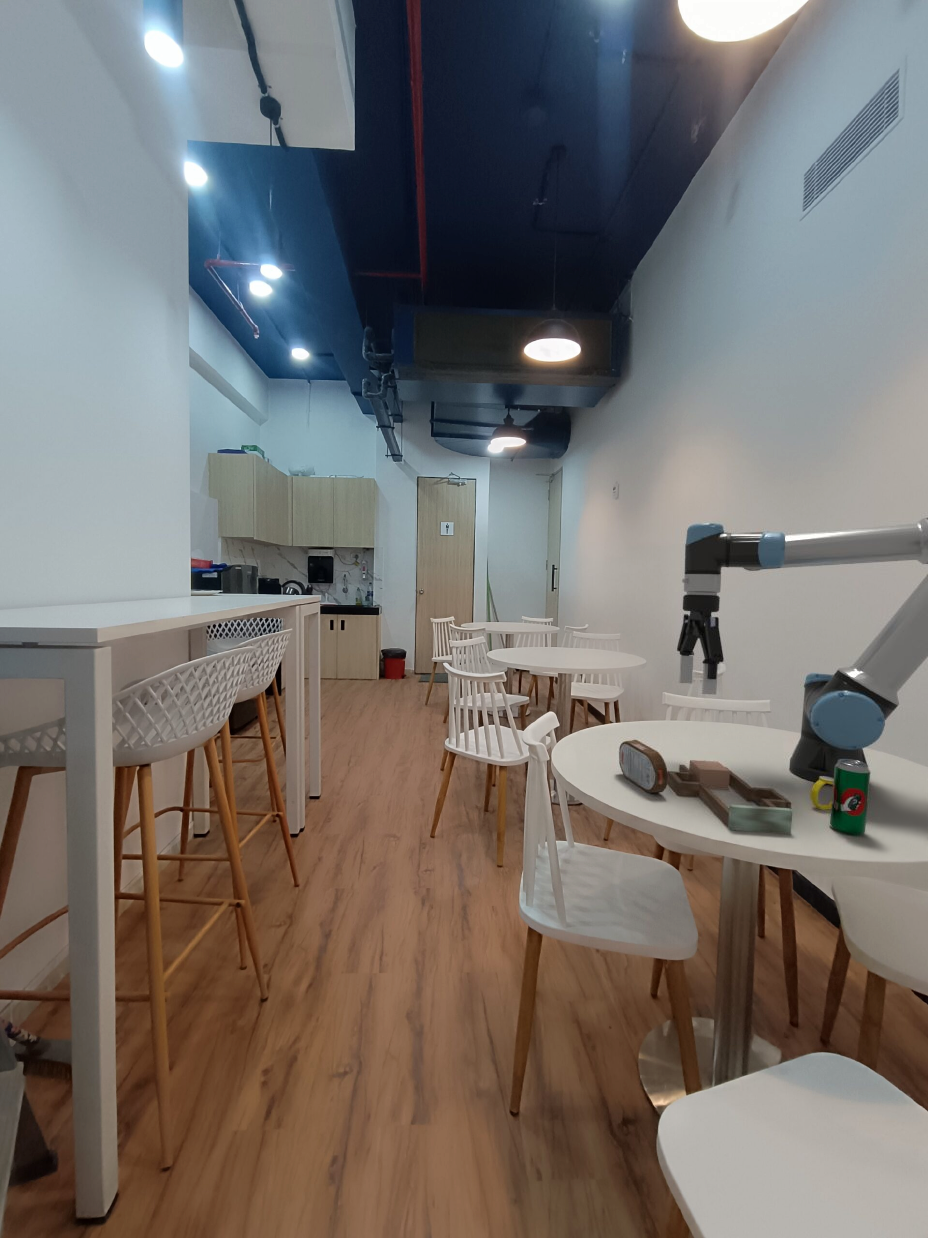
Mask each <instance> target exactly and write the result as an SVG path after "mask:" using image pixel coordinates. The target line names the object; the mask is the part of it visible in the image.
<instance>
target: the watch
mask: <svg viewBox="0 0 928 1238" xmlns="http://www.w3.org/2000/svg"><path fill="white" fill-rule="evenodd" d="M833 781H834V778H831V777H826V776H820V777H819V780H818V781H817V782H815V783H814V784H813V786H812V787H811V790H810V795H809V796H810V801H811V804H812V805H813V806H814V807H816V808H817V809H819V810H820V811H821V810H822V811H825V810H831V804H832V800H831V801H830V802H828V804H823V805H822V804H821V805H820V804H819V800H818V797H819V792H820V791H821V789H822V787H823V786H824V785H829V784H833ZM826 783H827V784H826Z"/></svg>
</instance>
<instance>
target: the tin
mask: <svg viewBox="0 0 928 1238" xmlns="http://www.w3.org/2000/svg"><path fill="white" fill-rule="evenodd" d="M618 748H619V749H618V750H619V751H618V757H619V760H618V761H619V763H618V764H619V767H620V770H621V773H622V774H623V775H624V776H623V777H625V778H626V779H627V780H629V781H630V782H631V783H632V784H635V785H636V786H637V787H638V788H639V789H641V790H642V791H644V792H646V793H648V794H653V793H662V792H664V791H665V790H666V788H667V787H668V767H667V764H666V762H665V759H664V758H663V756H662V755H661V754H660V752H659V751H657V750H655V749H653V748H652V747H650V746H648V745H647V744H645V743H643V742H641V741H639V740H637V739H631V740H626V741H622V742H621V743H620V746H619V747H618Z"/></svg>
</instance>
